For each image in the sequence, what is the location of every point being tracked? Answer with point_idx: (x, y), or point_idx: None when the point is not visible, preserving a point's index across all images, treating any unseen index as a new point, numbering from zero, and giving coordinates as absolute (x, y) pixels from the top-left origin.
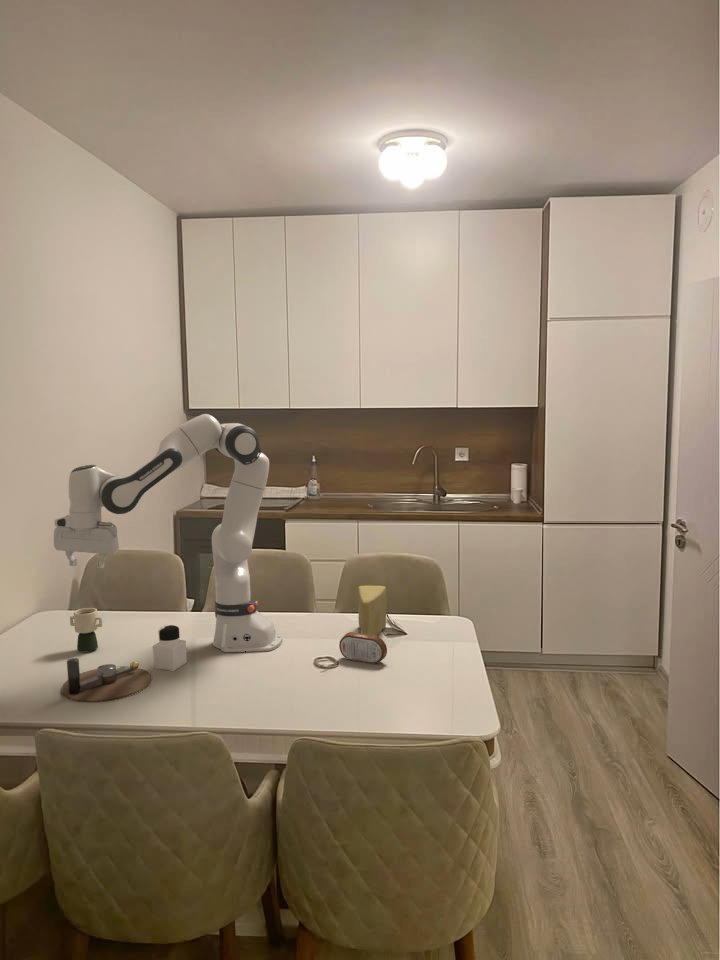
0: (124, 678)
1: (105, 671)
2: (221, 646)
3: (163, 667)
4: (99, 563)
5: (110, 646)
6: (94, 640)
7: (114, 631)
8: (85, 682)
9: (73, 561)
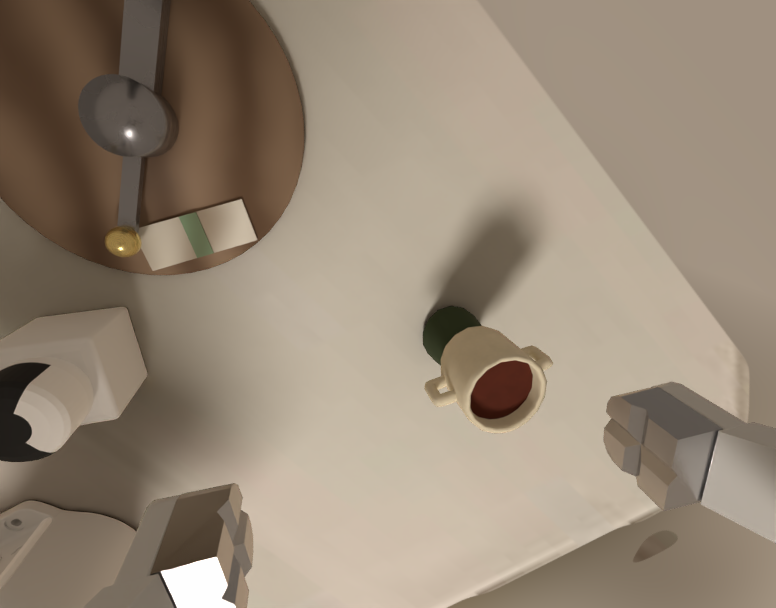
0: (111, 173)
1: (91, 81)
2: (51, 517)
3: (78, 313)
4: (147, 562)
5: (409, 381)
6: (434, 350)
7: (479, 461)
8: (137, 9)
9: (665, 433)
